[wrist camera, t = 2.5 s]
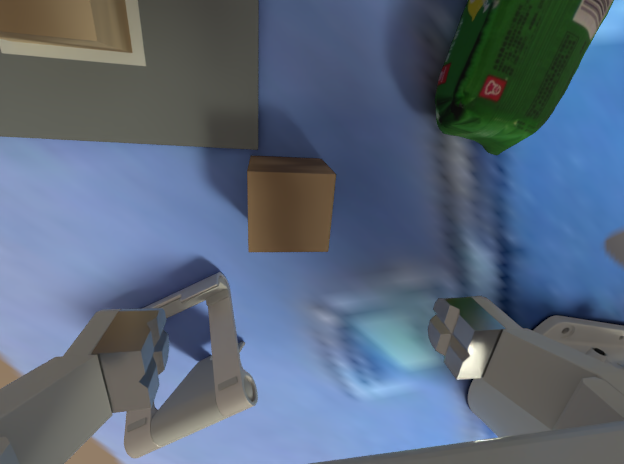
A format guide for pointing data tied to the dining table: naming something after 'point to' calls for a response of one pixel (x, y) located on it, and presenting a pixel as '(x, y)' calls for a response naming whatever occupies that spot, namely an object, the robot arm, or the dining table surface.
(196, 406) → the portable electronic device stand
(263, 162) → the walnut cube
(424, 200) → the dining table surface
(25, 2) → the oak base block
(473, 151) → the dining table surface
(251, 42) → the mat
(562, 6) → the snack package
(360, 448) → the dining table surface
